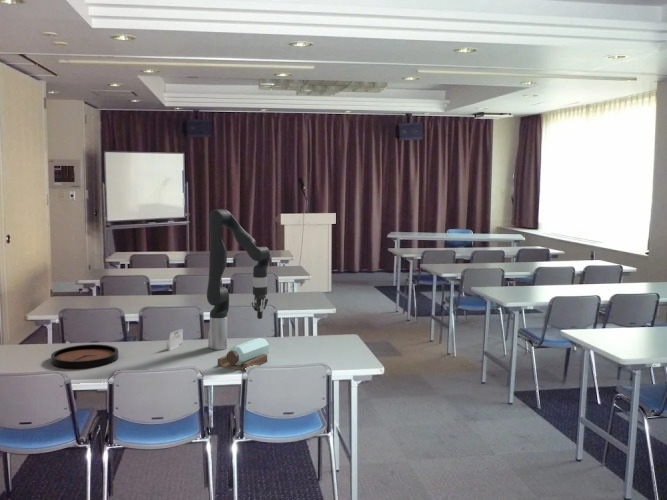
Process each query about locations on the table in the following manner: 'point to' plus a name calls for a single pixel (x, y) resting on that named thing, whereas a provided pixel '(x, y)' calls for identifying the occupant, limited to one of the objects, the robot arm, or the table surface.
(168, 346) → the ink cartridge box
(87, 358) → the wall clock
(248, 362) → the cradle
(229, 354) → the water bottle
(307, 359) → the table surface
